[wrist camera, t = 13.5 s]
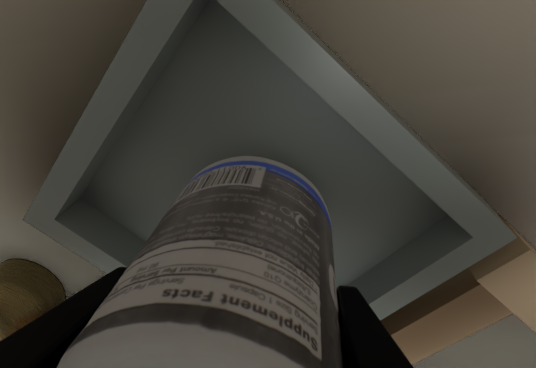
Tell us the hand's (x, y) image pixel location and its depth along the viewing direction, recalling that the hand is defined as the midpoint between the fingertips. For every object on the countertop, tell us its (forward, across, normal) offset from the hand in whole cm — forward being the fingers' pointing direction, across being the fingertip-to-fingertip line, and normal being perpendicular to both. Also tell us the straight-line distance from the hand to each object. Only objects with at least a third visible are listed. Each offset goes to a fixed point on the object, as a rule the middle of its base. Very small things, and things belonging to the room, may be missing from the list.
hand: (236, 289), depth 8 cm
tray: (+4, 0, 0) cm, 4 cm away
